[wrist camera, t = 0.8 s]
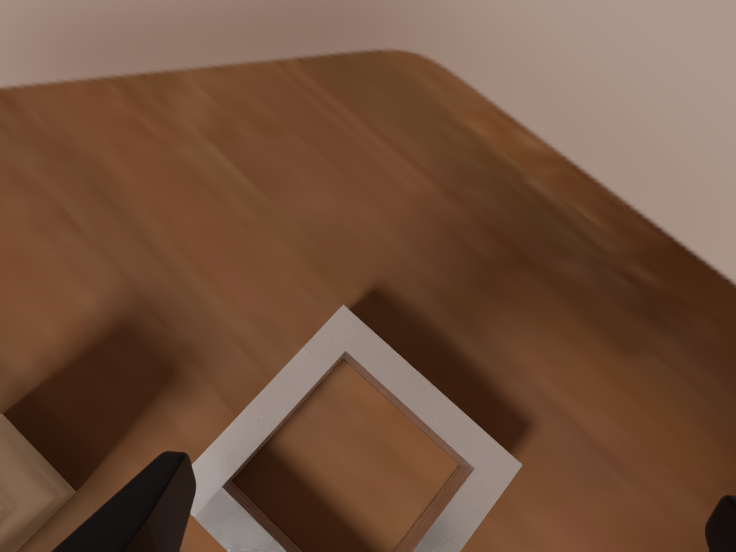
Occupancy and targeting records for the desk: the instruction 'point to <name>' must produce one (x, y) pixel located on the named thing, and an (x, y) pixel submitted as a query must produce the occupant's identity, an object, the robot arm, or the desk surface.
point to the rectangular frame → (404, 390)
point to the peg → (25, 489)
